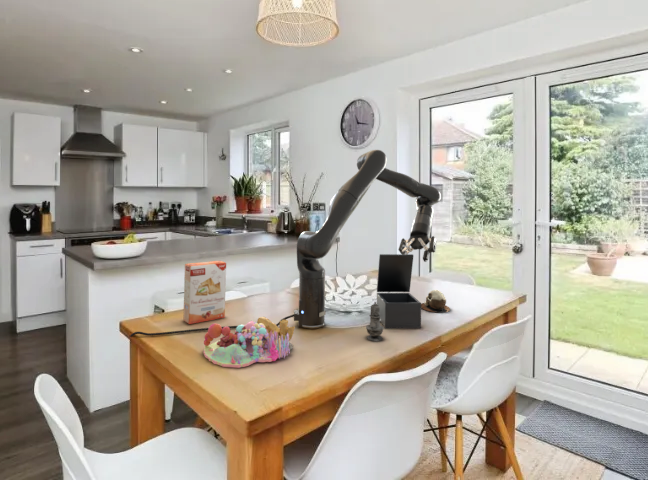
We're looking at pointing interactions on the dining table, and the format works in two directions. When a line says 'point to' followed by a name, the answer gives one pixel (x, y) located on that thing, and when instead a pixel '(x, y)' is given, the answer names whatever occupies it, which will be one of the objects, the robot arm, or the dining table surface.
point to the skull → (435, 302)
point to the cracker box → (204, 291)
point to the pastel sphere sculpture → (248, 343)
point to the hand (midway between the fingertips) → (413, 260)
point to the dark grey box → (399, 310)
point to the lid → (394, 272)
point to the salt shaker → (374, 324)
